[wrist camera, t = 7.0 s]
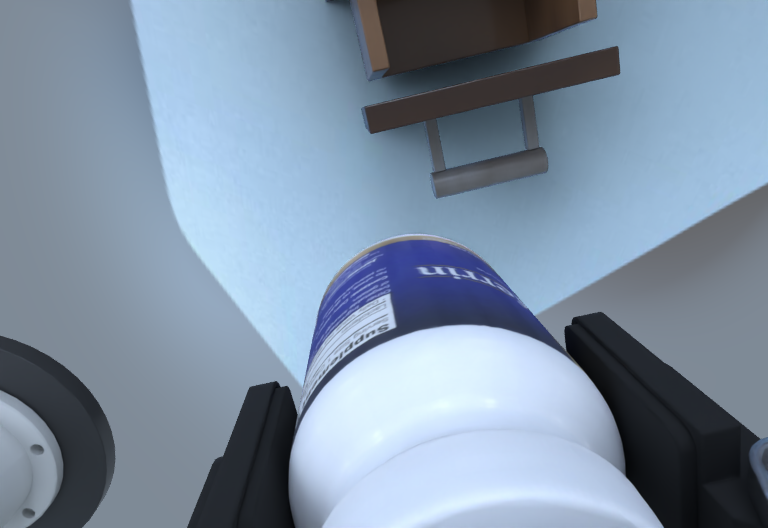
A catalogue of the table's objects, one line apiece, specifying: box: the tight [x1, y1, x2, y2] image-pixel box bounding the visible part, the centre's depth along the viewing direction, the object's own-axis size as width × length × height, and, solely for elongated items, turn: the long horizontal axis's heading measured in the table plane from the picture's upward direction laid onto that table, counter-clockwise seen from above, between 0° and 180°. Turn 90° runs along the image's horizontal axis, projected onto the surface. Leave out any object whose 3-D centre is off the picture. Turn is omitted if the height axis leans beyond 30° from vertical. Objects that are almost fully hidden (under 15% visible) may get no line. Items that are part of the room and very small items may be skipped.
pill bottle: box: [288, 234, 664, 528], centre depth 10 cm, size 6×6×10 cm
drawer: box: [349, 0, 620, 199], centre depth 24 cm, size 18×11×8 cm, turn 13°
